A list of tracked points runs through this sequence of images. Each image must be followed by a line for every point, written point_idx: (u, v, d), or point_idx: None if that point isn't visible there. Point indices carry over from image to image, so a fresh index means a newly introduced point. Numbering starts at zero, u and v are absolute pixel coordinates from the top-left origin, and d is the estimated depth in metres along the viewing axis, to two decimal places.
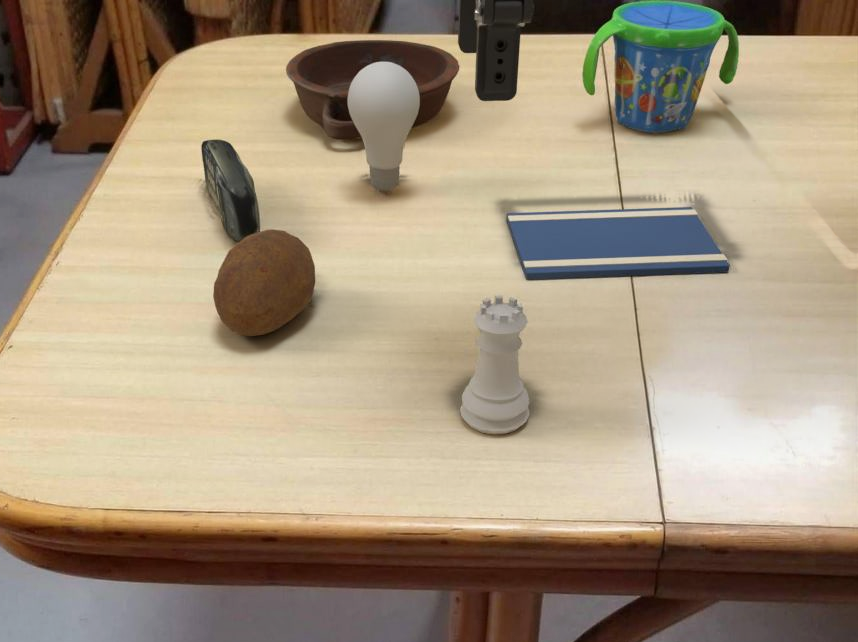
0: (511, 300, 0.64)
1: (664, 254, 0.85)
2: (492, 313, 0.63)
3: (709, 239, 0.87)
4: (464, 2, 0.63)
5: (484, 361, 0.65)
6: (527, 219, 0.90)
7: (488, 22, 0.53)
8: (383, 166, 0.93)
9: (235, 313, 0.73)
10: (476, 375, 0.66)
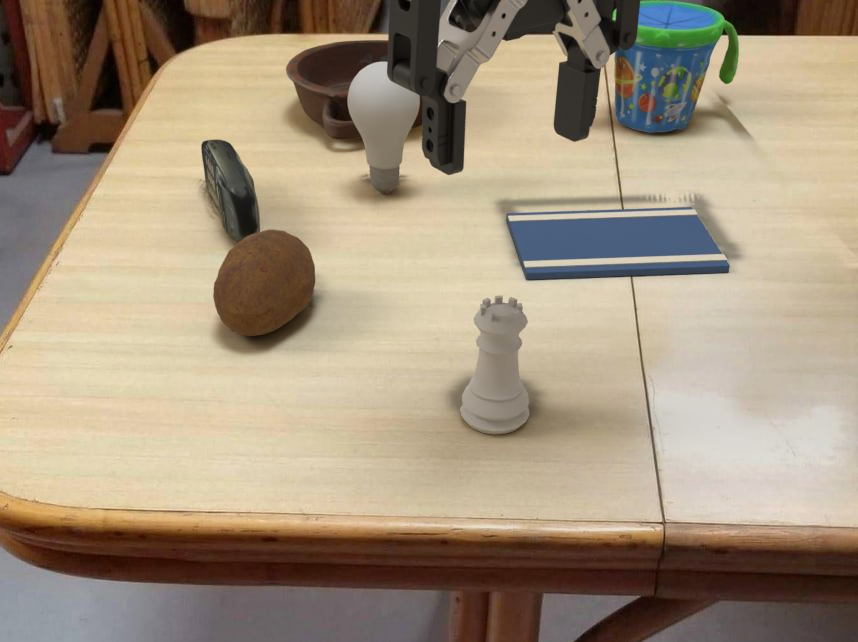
0: (511, 300, 0.64)
1: (664, 254, 0.85)
2: (492, 313, 0.63)
3: (709, 239, 0.87)
4: (560, 80, 0.58)
5: (484, 361, 0.65)
6: (527, 219, 0.90)
7: None
8: (383, 166, 0.93)
9: (235, 313, 0.73)
10: (476, 375, 0.66)
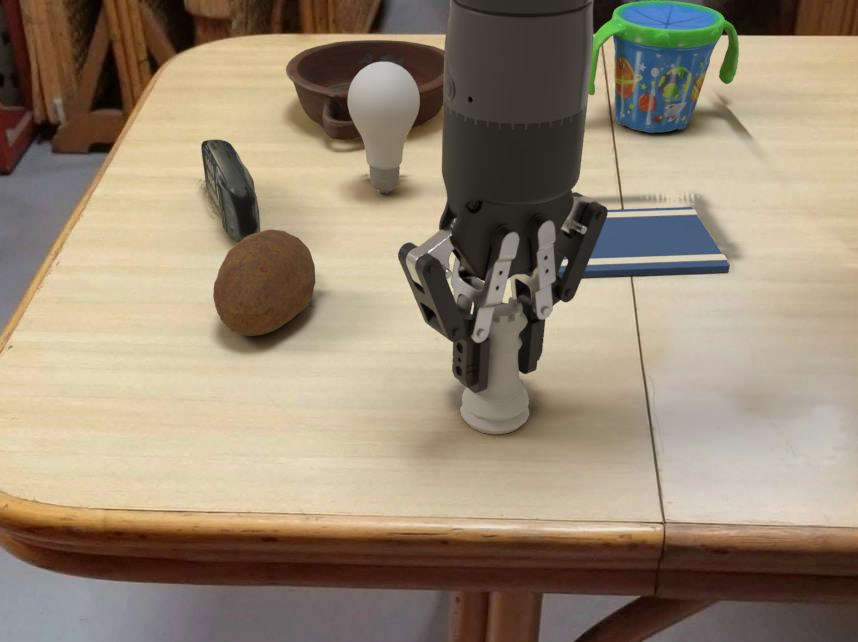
0: (511, 300, 0.64)
1: (664, 254, 0.85)
2: None
3: (709, 239, 0.87)
4: None
5: None
6: None
7: (429, 325, 0.63)
8: (383, 166, 0.93)
9: (235, 313, 0.73)
10: None
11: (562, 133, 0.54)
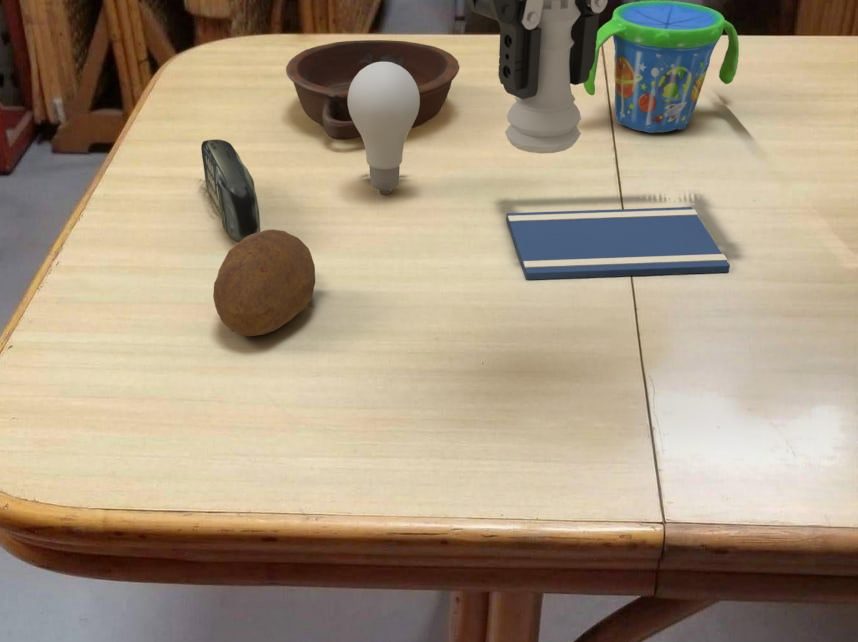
0: None
1: (664, 254, 0.85)
2: None
3: (709, 239, 0.87)
4: None
5: None
6: (527, 219, 0.90)
7: (474, 11, 0.57)
8: (383, 166, 0.93)
9: (235, 313, 0.73)
10: None
11: None
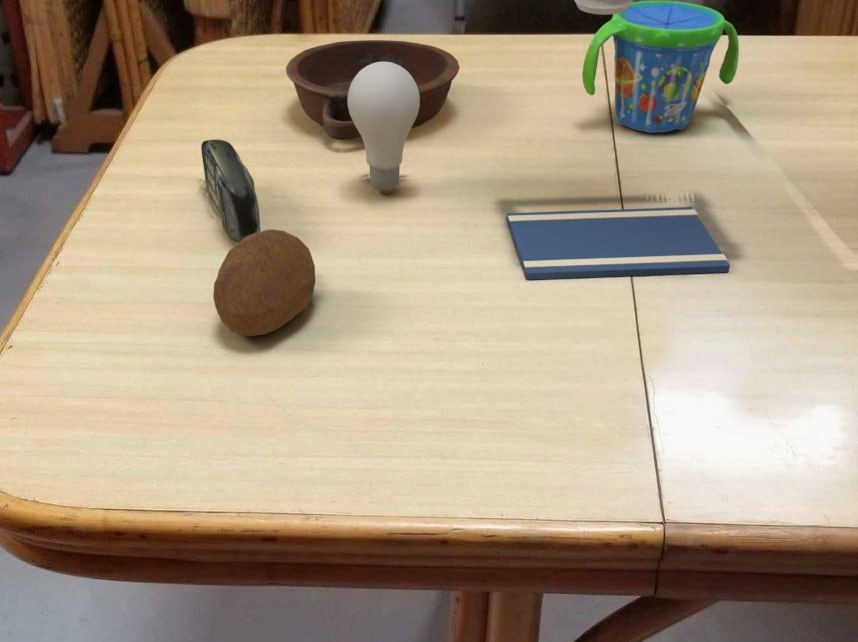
0: None
1: (664, 254, 0.85)
2: None
3: (709, 239, 0.87)
4: None
5: None
6: (527, 219, 0.90)
7: None
8: (383, 166, 0.93)
9: (235, 313, 0.73)
10: None
11: None
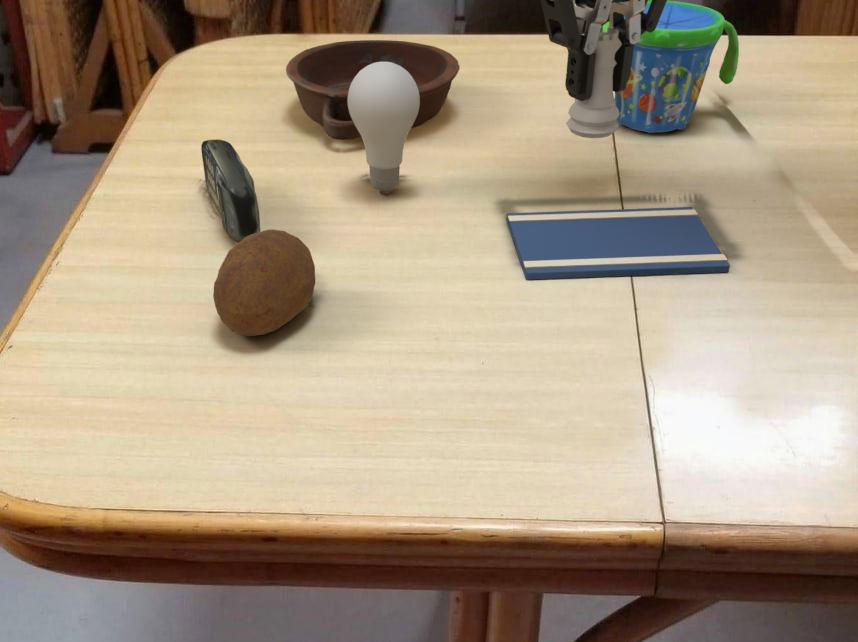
0: (609, 28, 0.87)
1: (664, 254, 0.85)
2: None
3: (709, 239, 0.87)
4: None
5: None
6: (527, 219, 0.90)
7: (552, 41, 0.86)
8: (383, 166, 0.93)
9: (235, 313, 0.73)
10: None
11: None
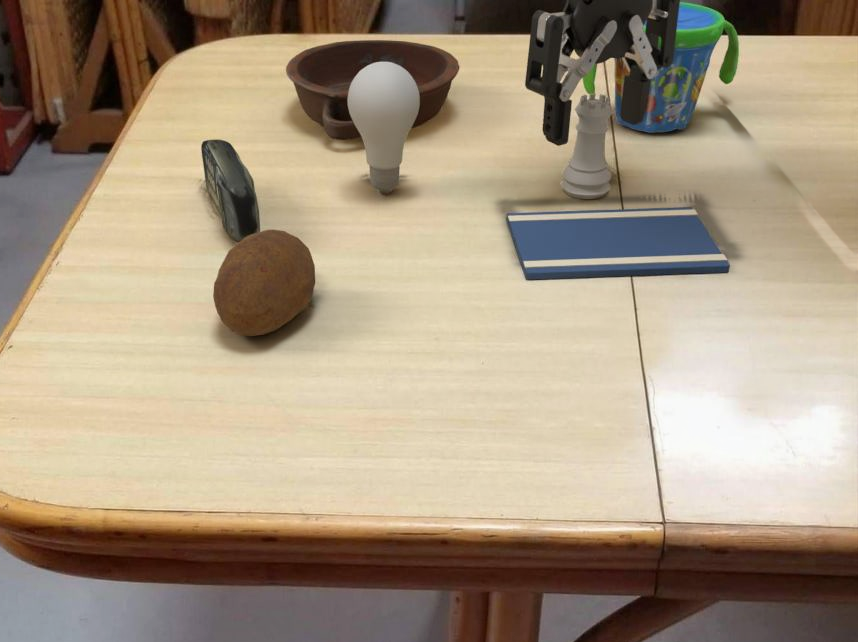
0: (601, 95, 0.91)
1: (664, 254, 0.85)
2: (589, 102, 0.90)
3: (709, 239, 0.87)
4: (625, 86, 0.93)
5: (581, 141, 0.92)
6: (527, 219, 0.90)
7: (528, 89, 0.87)
8: (383, 166, 0.93)
9: (235, 313, 0.73)
10: (574, 154, 0.93)
11: None
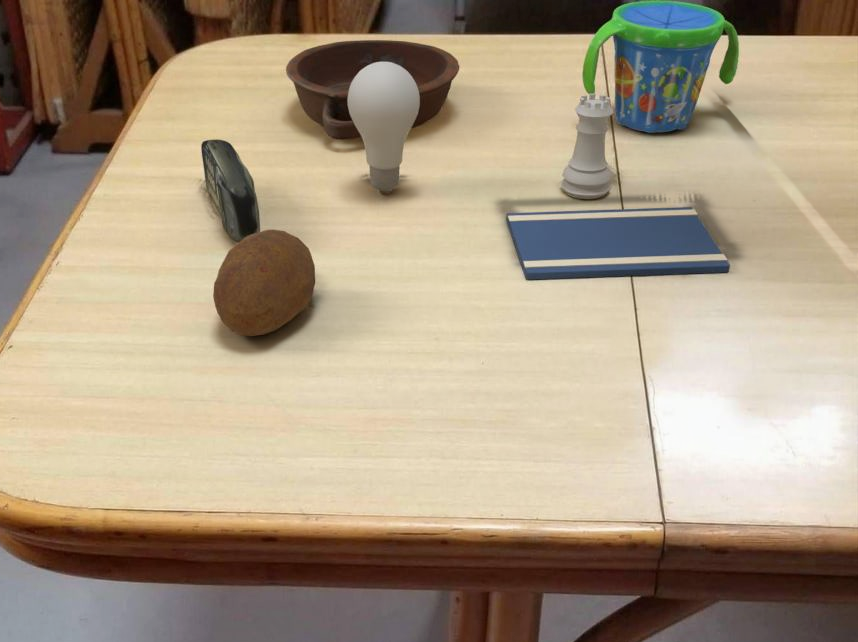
0: (601, 95, 0.91)
1: (664, 254, 0.85)
2: (589, 102, 0.90)
3: (709, 239, 0.87)
4: None
5: (581, 141, 0.92)
6: (527, 219, 0.90)
7: None
8: (383, 166, 0.93)
9: (235, 313, 0.73)
10: (574, 154, 0.93)
11: None
